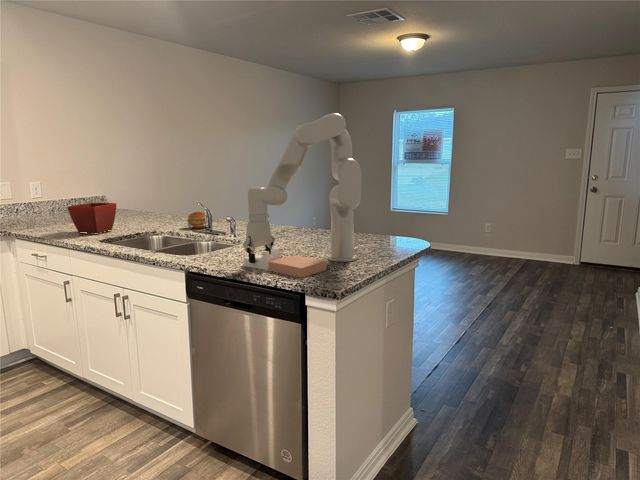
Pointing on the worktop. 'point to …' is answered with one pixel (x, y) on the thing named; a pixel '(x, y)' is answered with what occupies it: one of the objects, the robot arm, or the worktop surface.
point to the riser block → (297, 266)
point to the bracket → (263, 259)
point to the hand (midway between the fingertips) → (260, 260)
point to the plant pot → (93, 217)
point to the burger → (196, 220)
